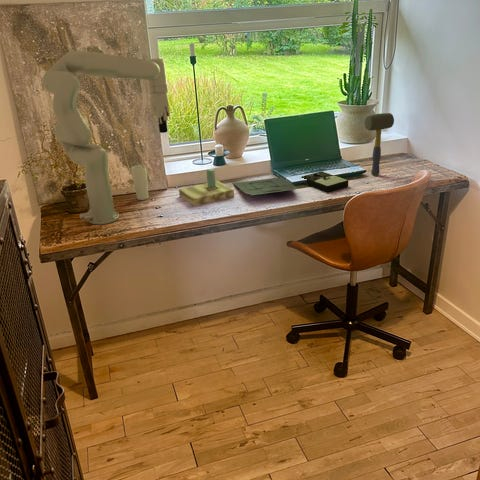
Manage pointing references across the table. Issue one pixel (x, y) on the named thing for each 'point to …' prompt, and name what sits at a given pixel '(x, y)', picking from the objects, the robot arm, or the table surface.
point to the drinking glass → (140, 181)
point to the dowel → (211, 179)
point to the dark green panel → (265, 186)
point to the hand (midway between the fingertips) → (163, 132)
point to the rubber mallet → (378, 135)
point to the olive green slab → (205, 193)
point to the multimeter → (325, 182)
